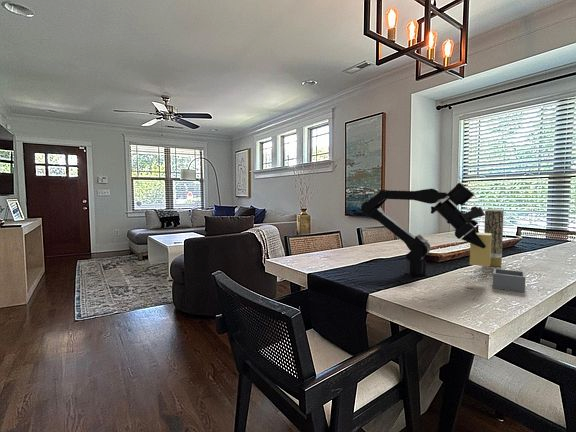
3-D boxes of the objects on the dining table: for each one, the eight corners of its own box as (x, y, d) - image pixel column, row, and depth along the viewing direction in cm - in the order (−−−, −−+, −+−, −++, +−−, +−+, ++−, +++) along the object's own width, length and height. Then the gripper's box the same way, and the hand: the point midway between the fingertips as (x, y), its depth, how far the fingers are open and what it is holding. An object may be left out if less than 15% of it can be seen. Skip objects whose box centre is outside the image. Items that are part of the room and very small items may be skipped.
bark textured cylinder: (505, 267, 136) (507, 209, 134) (489, 267, 136) (491, 210, 134) (494, 263, 142) (496, 209, 141) (480, 263, 142) (481, 209, 141)
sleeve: (492, 287, 106) (493, 273, 106) (493, 281, 113) (494, 268, 113) (524, 292, 101) (525, 277, 101) (524, 285, 108) (524, 271, 108)
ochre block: (469, 264, 111) (470, 234, 110) (471, 261, 116) (472, 232, 115) (489, 266, 108) (490, 235, 107) (490, 263, 113) (491, 233, 112)
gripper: (466, 199, 105) (505, 234, 99) (472, 198, 120) (506, 228, 114) (440, 221, 110) (475, 256, 104) (449, 218, 125) (480, 247, 120)
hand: (485, 246), depth 111 cm, fingers closed on ochre block, 6 cm apart
